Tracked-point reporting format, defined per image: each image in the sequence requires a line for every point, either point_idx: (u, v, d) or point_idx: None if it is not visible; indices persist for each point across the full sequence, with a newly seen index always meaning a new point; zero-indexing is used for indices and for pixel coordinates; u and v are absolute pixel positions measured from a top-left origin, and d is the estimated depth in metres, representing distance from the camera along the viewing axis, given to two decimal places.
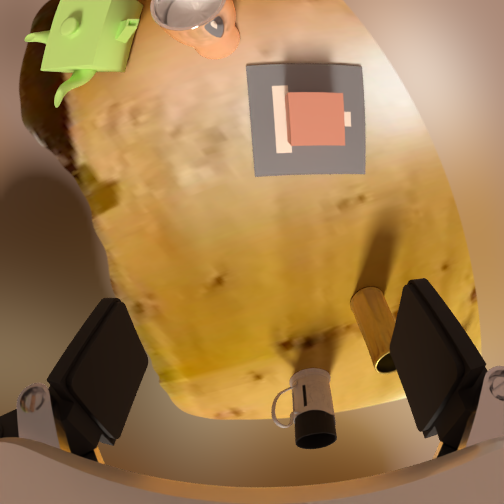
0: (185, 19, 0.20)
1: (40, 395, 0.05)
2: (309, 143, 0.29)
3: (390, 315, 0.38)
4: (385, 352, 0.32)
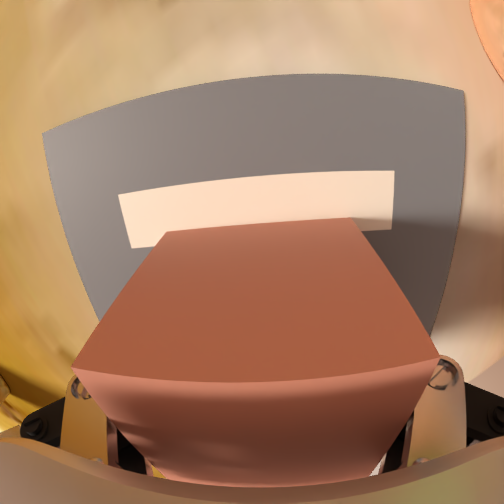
0: None
1: None
2: (124, 428, 0.05)
3: None
4: None
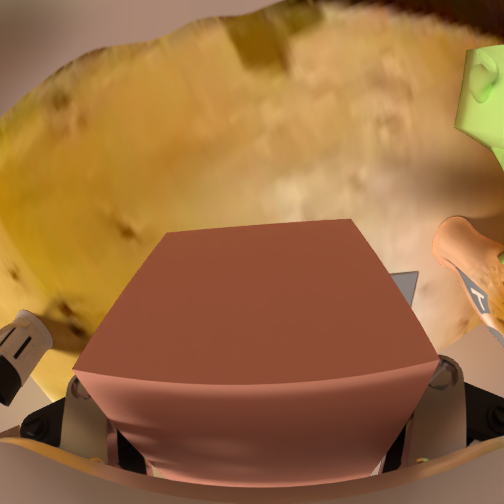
0: None
1: None
2: (125, 430, 0.05)
3: None
4: None
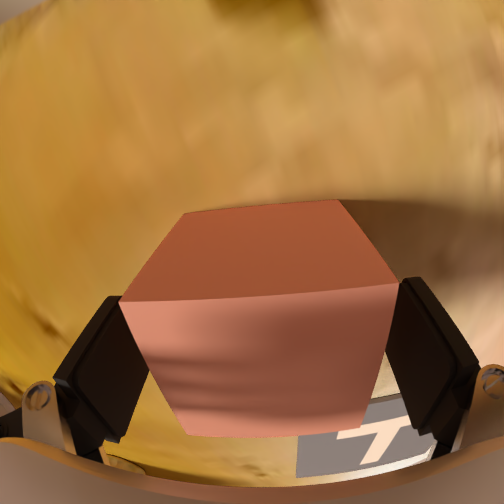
0: None
1: (46, 393, 0.05)
2: (153, 363, 0.07)
3: None
4: None
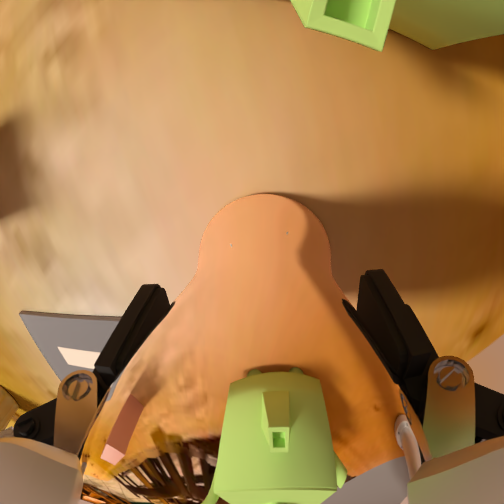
0: None
1: (86, 383, 0.06)
2: None
3: None
4: None
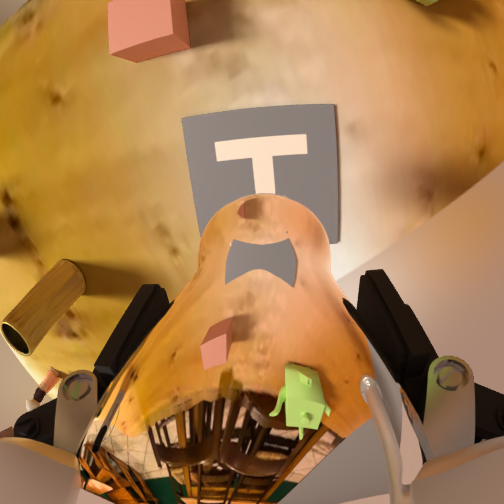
0: None
1: (86, 383, 0.06)
2: (110, 17, 0.16)
3: (59, 314, 0.30)
4: (19, 330, 0.22)
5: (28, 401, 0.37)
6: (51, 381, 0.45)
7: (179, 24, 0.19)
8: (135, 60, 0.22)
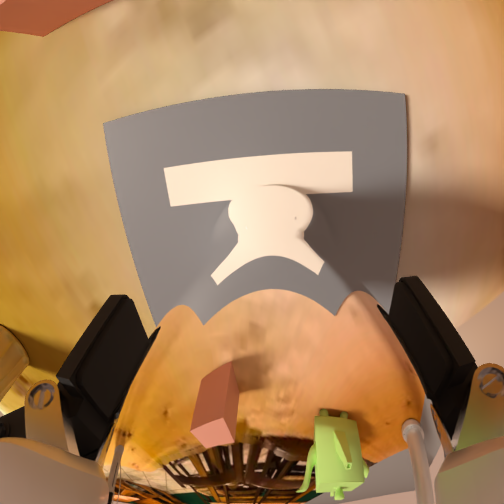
0: None
1: (49, 392, 0.05)
2: None
3: None
4: None
5: None
6: None
7: None
8: (36, 32, 0.09)
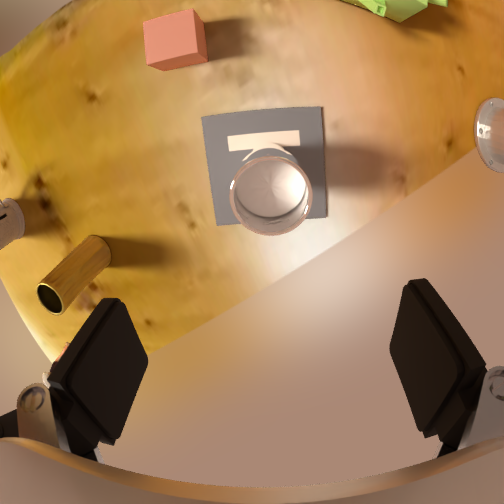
0: (263, 173, 0.25)
1: (40, 395, 0.05)
2: (145, 35, 0.24)
3: (89, 280, 0.37)
4: (55, 289, 0.30)
5: (45, 373, 0.45)
6: None
7: (200, 43, 0.26)
8: (163, 69, 0.30)
